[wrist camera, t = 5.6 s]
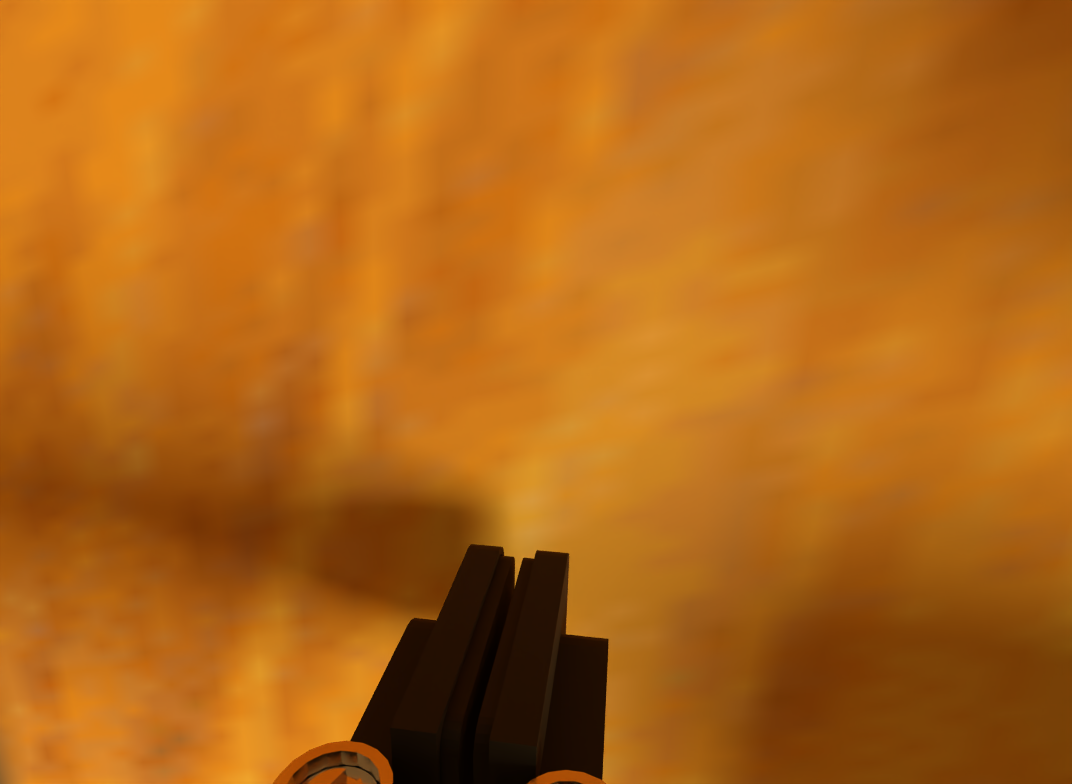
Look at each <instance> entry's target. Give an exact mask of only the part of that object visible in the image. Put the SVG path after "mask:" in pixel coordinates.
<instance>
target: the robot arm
mask: <svg viewBox="0 0 1072 784" xmlns="http://www.w3.org/2000/svg"><path fill="white" fill-rule="evenodd" d="M568 571H569V553H560V552H549V551H539V550H537V551H536V554H535V558H534V559H531V558H523V560H522V564H521V567H520V571H519V575H518V578H517V582H516V585H515V559H514V557H510V556H504V550H503V547H496V546H485V545H475V544H471V545H470V546H469V548H468V550H467V552H466V554H465V557H464V559H463V561H462V564H461V566H460V568H459V571H458V573H457V575H456V577H455V580H454V582H453V584H452V587H451V589H450V591H449V594H448V596H447V598H446V600H445V603H444V605H443V607H442V610H441V612H440V614H439V617H438V619H437V620H428V619H418V618H414V619H412V620H411V621H410V623H409V624H408V626H407V628H406V630H405V632H404V634H403V636H402V638H401V640H400V642H399V644H398V646H397V648H396V650H395V652H394V654H393V656H392V658H391V660H390V662H389V664H388V666H387V668H386V670H385V672H384V674H383V676H382V678H381V680H380V682H379V684H378V686H377V688H376V690H375V692H374V694H373V696H372V698H371V700H370V702H369V704H368V706H367V708H366V710H365V712H364V714H363V716H362V718H361V720H360V722H359V724H358V726H357V728H356V730H355V732H354V734H353V736H352V738H351V740H350V741H341V742H333V743H327V744H325V745H322V746H319V747H316V748H314V749H311V750H309V751H307V752H306V753H304V754H303V755H301V756H300V757H298V758H296V759H295V760H293V761H292V762H291V763H290V764H289V765H288V766H287V767H286V768H285V769H284V770H283V771H282V772H281V774H280V775H279V776H278V777H277V778H276V780H275V781H274V782H273V784H606V783H605V782H603V781H602V774H603V752H604V730H605V707H606V685H607V663H608V639H603V638H594V637H584V636H575V635H566V615H567V593H568ZM514 587H515V589H514Z"/></svg>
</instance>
